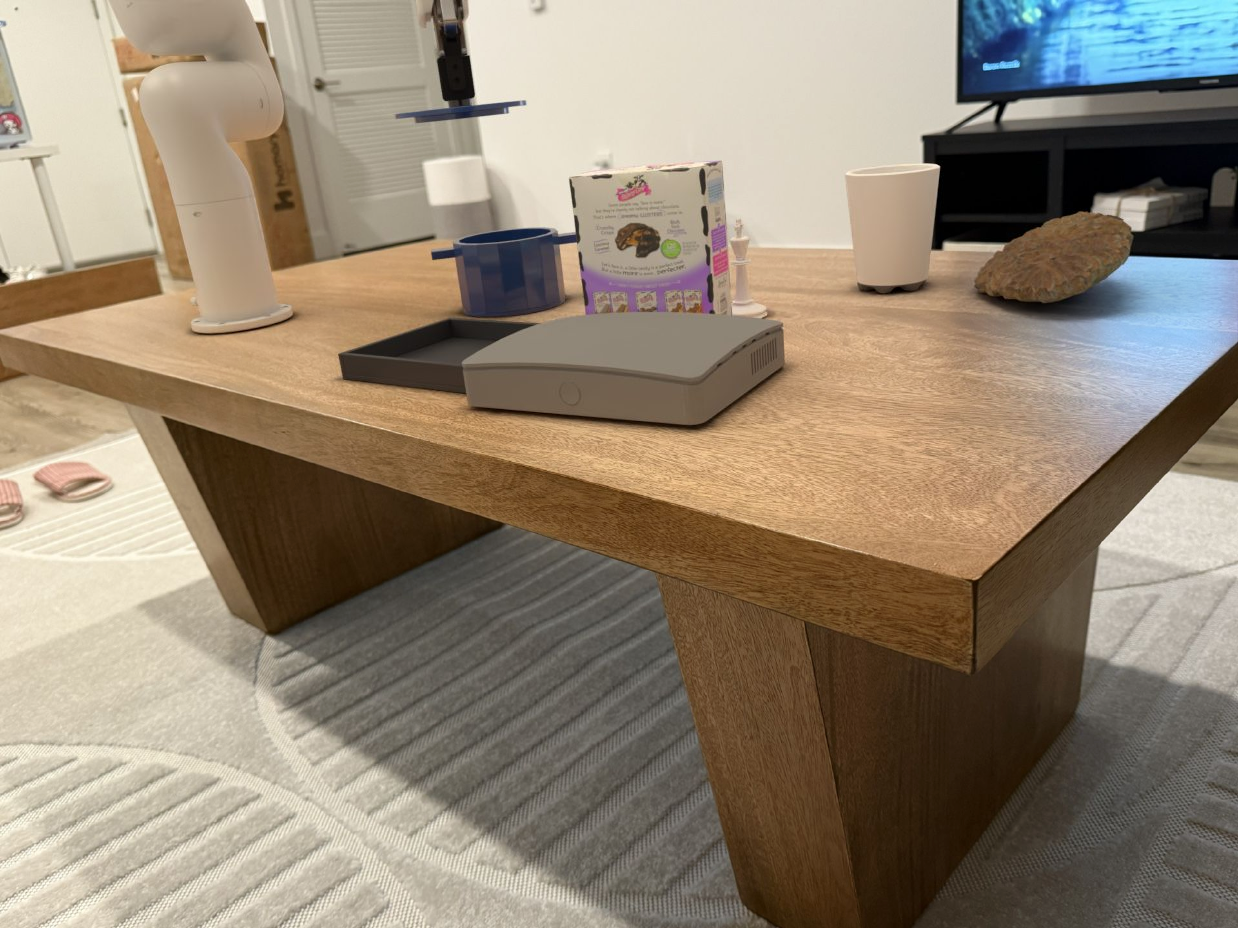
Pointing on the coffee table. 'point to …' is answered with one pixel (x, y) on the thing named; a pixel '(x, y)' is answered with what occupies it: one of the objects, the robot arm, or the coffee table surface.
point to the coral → (1058, 258)
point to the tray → (426, 353)
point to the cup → (892, 224)
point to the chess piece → (743, 278)
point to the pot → (509, 270)
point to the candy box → (653, 238)
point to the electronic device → (627, 365)
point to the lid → (460, 111)
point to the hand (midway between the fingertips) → (458, 98)
